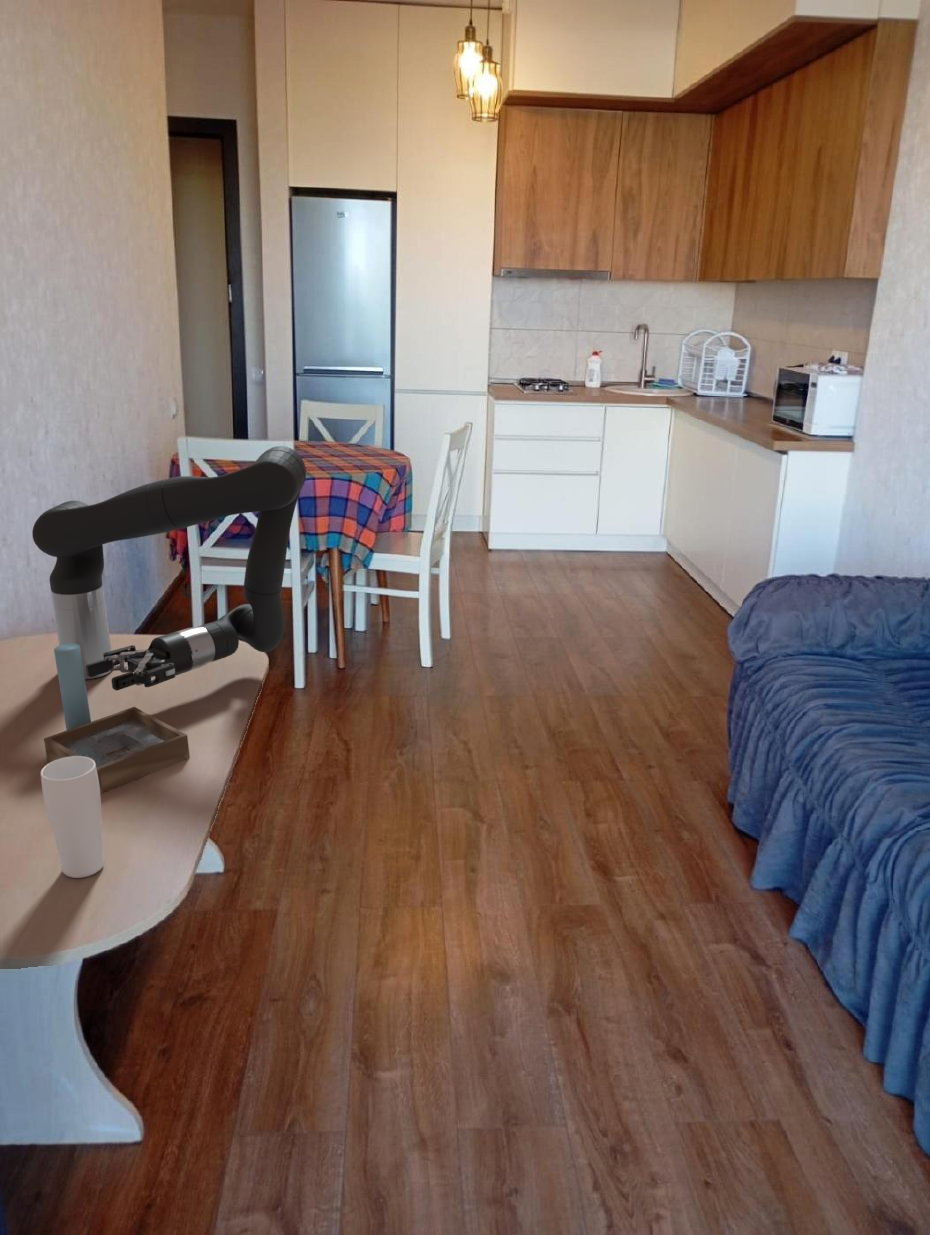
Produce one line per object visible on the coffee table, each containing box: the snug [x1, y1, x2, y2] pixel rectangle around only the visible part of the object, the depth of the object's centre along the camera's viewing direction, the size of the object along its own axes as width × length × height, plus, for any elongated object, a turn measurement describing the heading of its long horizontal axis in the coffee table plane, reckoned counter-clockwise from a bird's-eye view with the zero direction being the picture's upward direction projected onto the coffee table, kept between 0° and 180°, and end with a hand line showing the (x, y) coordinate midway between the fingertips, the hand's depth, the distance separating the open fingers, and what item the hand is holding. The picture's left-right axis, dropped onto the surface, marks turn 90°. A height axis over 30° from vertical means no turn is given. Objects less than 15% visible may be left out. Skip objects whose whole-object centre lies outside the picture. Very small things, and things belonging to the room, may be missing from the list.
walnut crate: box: [43, 706, 190, 795], centre depth 160 cm, size 16×16×4 cm
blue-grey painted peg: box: [53, 643, 92, 731], centre depth 166 cm, size 4×4×16 cm
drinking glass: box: [40, 756, 105, 879], centre depth 130 cm, size 7×7×15 cm
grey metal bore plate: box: [61, 718, 172, 767], centre depth 161 cm, size 14×14×2 cm
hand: (100, 678), depth 169 cm, fingers open, 8 cm apart
